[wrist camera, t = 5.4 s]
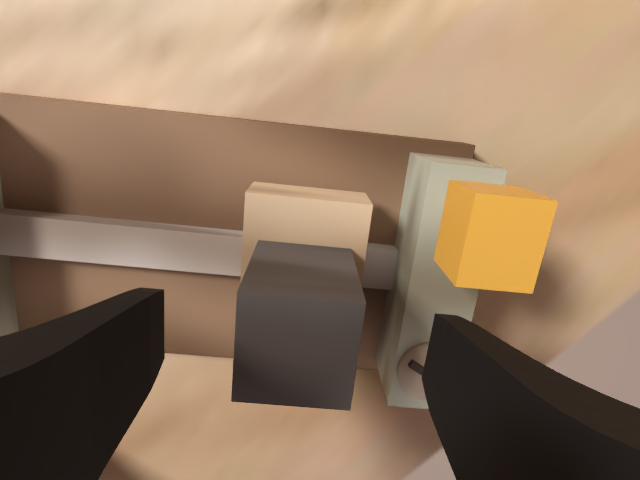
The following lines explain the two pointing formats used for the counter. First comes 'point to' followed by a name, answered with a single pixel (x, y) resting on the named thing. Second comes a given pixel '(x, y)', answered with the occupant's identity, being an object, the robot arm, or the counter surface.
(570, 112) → the counter surface
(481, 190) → the button
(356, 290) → the carriage
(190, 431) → the counter surface
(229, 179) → the rail board
